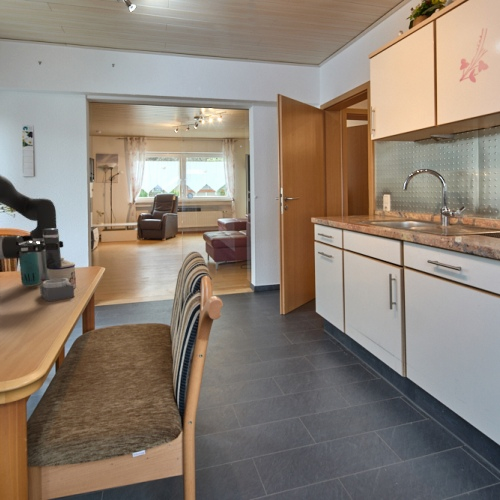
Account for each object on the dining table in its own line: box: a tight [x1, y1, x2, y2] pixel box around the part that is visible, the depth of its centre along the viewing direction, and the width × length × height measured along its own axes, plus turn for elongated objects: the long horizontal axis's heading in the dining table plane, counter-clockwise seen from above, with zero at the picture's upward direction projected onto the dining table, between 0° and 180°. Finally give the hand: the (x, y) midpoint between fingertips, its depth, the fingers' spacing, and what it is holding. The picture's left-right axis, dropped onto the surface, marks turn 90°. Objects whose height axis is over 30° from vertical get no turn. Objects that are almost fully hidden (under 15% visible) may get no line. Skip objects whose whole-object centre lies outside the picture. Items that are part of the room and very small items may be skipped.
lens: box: [43, 227, 62, 269], centre depth 131 cm, size 5×5×13 cm
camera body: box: [39, 278, 75, 302], centre depth 134 cm, size 10×8×6 cm
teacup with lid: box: [49, 257, 77, 289], centre depth 146 cm, size 12×9×12 cm
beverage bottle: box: [18, 234, 42, 287], centre depth 146 cm, size 6×7×20 cm
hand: (60, 245), depth 132 cm, fingers closed on lens, 4 cm apart
